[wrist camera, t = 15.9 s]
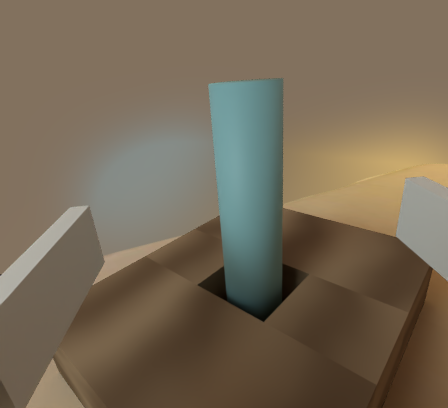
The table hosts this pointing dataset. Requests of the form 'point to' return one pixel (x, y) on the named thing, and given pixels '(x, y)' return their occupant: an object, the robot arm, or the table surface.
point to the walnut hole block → (249, 325)
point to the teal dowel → (250, 189)
